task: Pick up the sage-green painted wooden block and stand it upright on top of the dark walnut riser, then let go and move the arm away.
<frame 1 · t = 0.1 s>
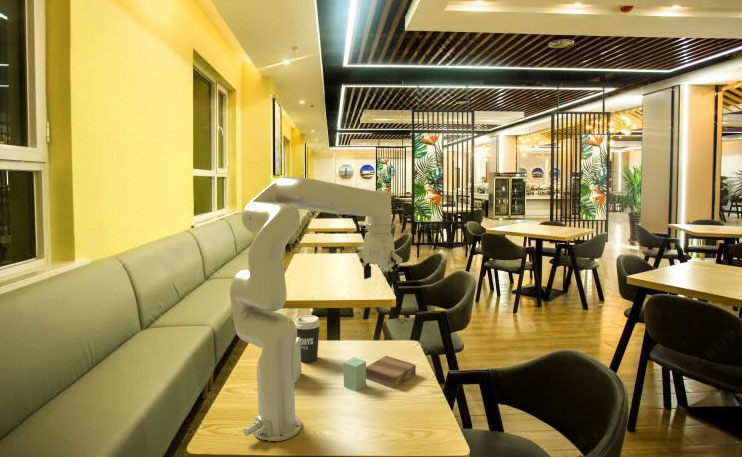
hand: (379, 280, 157), 31 cm above the table, tool pointing down, fingers open, 9 cm apart
walnut riser: (390, 377, 157), on the table
coffee cup: (308, 359, 170), on the table
supplement box: (288, 378, 156), on the table
sage block: (355, 385, 150), on the table
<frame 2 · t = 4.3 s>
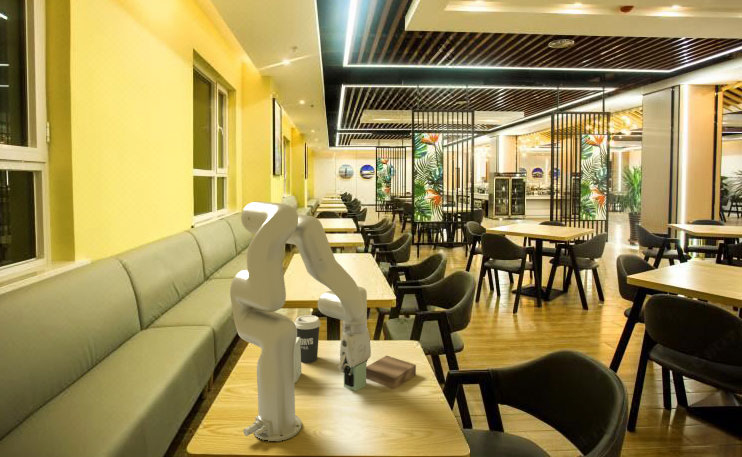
hand: (355, 381, 150), 1 cm above the table, tool pointing down, fingers closed on sage block, 5 cm apart
sage block: (355, 385, 150), on the table, touching gripper
everything else where it was.
when the fingers open (7 cm above the table, at t = 10.1 s): sage block drops 2 cm, point 3 cm above the table.
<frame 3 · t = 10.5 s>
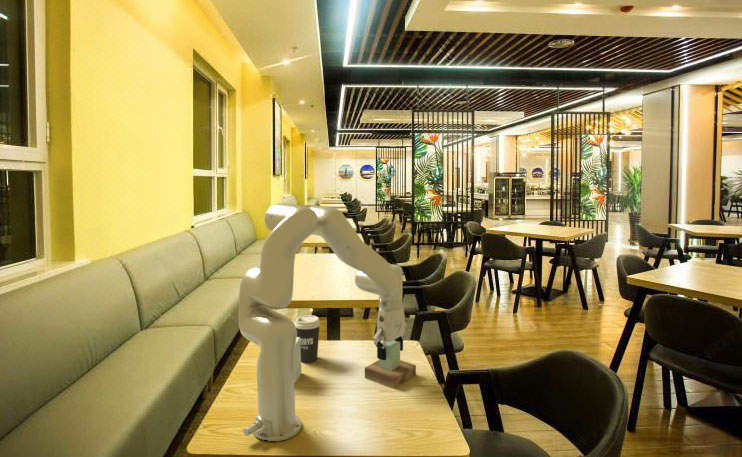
hand: (390, 354, 156), 8 cm above the table, tool pointing down, fingers open, 9 cm apart
sage block: (389, 366, 157), point 3 cm above the table
everything else where it was.
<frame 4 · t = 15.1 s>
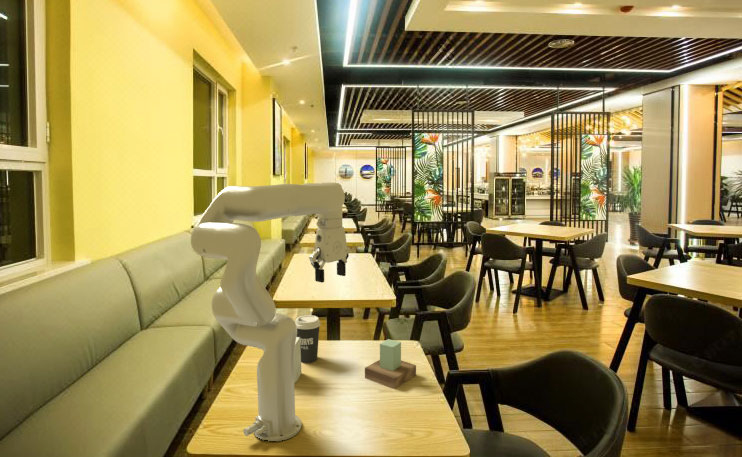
hand: (330, 278, 147), 34 cm above the table, tool pointing down, fingers open, 9 cm apart
walnut riser: (390, 378, 157), on the table, touching sage block
sage block: (390, 366, 156), point 3 cm above the table, touching walnut riser
everything else where it was.
at the end: sage block inside the target area on the walnut riser (0.2 cm from its centre), point 4.0 cm above the walnut riser's base; sage block tilted 0°; the gripper is holding nothing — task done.
